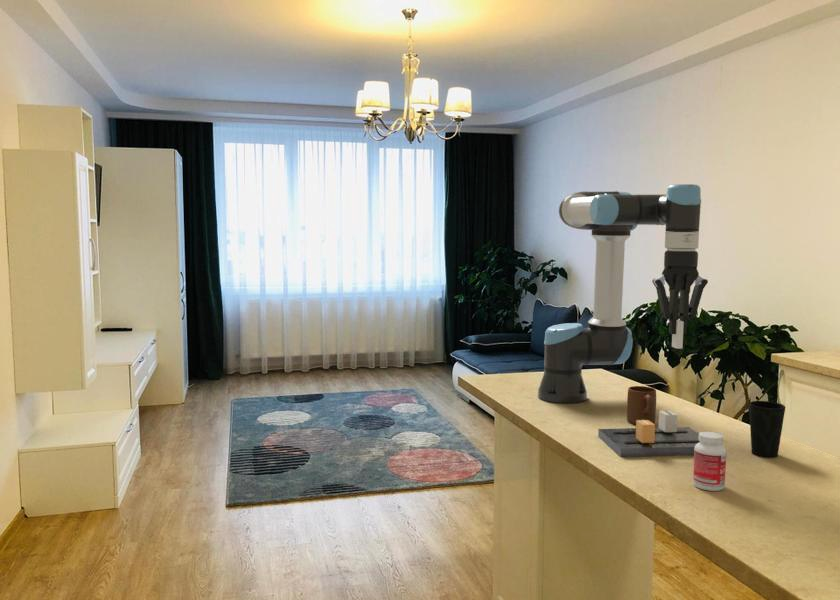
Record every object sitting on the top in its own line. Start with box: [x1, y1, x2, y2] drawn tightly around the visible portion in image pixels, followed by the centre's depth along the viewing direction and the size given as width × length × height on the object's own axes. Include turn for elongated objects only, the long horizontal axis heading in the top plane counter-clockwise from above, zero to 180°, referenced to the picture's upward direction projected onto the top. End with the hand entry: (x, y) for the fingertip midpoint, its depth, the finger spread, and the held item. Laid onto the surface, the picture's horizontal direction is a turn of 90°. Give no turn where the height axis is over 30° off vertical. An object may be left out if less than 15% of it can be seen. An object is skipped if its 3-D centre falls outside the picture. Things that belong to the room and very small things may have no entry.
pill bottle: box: [692, 431, 727, 492], centre depth 143 cm, size 6×6×11 cm
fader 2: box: [657, 410, 678, 432], centre depth 175 cm, size 4×3×4 cm
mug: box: [626, 385, 657, 426], centre depth 188 cm, size 12×8×9 cm, turn 179°
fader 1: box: [635, 420, 656, 443], centre depth 166 cm, size 4×3×4 cm
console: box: [597, 426, 700, 458], centre depth 171 cm, size 16×24×2 cm, turn 94°
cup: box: [748, 400, 786, 459], centre depth 163 cm, size 8×8×12 cm
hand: (677, 347), depth 167 cm, fingers closed
